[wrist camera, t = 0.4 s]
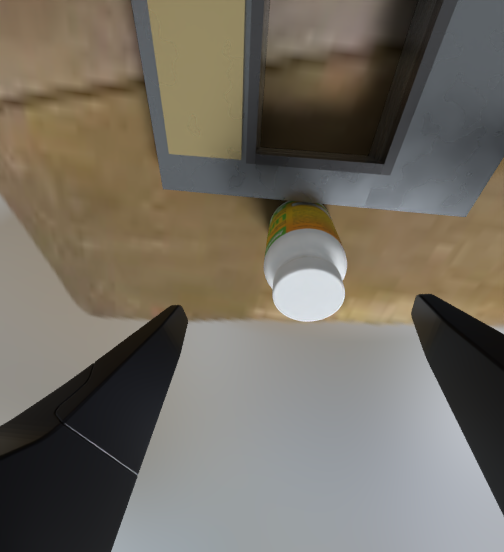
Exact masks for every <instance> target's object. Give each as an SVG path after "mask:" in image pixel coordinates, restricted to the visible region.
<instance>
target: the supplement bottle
mask: <svg viewBox="0 0 504 552" xmlns="http://www.w3.org/2000/svg"><path fill="white" fill-rule="evenodd" d="M346 270H347V259H346V255H345V251H344V248H343V246H342V244H341V241H340V239H339V237H338V234H337V232H336V229H335V227H334V225H333V222H332V220H331V217H330V215H329V213H328V211H327V210H326V208H325V207H324V206H323V205H322V204H320V203H309V202H298V201H287V202H285V203H283V204H282V205H281V206H279V207H278V208H277V209H276V211H275V212H274V214H273V215H272V218H271V220H270V224H269V231H268V237H267V244H266V252H265V259H264V273H265V277H266V280H267V282H268V284H269V285H270V286H271V288H272V289H273V301H274V304H275V306H276V307H277V309H278V310H279V311H280V312H281V313H282V314H284V315H285V316H287V317H289V318H291V319H294V320H298V321H317V320H321V319H324V318H327V317H329V316H331V315H332V314H333V313H335V312H336V311H337V310H338V309H339V308H340V307H341V305H342V303H343V301H344V297H345V289H344V285H343V282H342V281H343V279H344V277H345V274H346Z"/></svg>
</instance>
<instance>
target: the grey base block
mask: <svg viewBox="0 0 504 552" xmlns="http://www.w3.org/2000/svg"><path fill="white" fill-rule="evenodd" d="M131 3H132V9H133V15H134V21H135V27H136V33H137V38H138V44H139V50H140V56H141V62H142V68H143V74H144V80H145V86H146V91H147V97H148V103H149V109H150V115H151V121H152V127H153V133H154V139H155V144H156V150H157V156H158V162H159V168H160V174H161V180H162V186H163V189H169V190H179V191H190V192H201V193H212V194H223V195H233V196H244V197H255V198H266V199H277V200H287V201H298V202H309V203H320V204H330V205H341V206H352V207H363V208H374V209H384V210H395V211H406V212H417V213H428V214H438V215H449V216H460V217H466V216H467V214H468V212H469V211H470V209H471V208H472V206H473V205H474V203H475V201H476V200H477V198H478V197H479V195H480V194H481V192H482V190H483V189H484V187H485V186H486V184H487V182H488V181H489V179H490V178H491V176H492V175H493V173H494V171H495V170H496V168H497V167H498V165H499V164H500V162H501V160H502V159H503V157H504V0H418V2H417V6H416V9H415V12H414V15H413V18H412V21H411V24H410V28H409V31H408V34H407V37H406V40H405V43H404V46H403V49H402V53H401V56H400V59H399V62H398V65H397V68H396V71H395V75H394V78H393V81H392V84H391V87H390V90H389V93H388V96H387V100H386V103H385V106H384V109H383V112H382V115H381V118H380V122H379V125H378V128H377V131H376V134H375V137H374V140H373V143H372V147H371V150H370V153H369V156H366V155H353V154H340V153H328V152H315V151H302V150H290V149H277V148H264V147H260V141H261V126H262V111H263V96H264V81H265V66H266V51H267V36H268V21H269V6H270V0H131Z"/></svg>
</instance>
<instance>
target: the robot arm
mask: <svg viewBox="0 0 504 552" xmlns="http://www.w3.org/2000/svg"><path fill="white" fill-rule="evenodd" d="M411 315H412V319H413V322H414V325H415V328H416V330H417V333H418V336H419V339H420V342H421V345H422V348H423V351H424V353H425V356H426V358H427V361H428V363H429V365H430V367H431V369H432V371H433V373H434V375H435V377H436V379H437V381H438V383H439V385H440V387H441V389H442V391H443V393H444V395H445V397H446V399H447V402H448V403H449V405H450V408H451V410H452V412H453V413H454V416H455V418H456V420H457V421H458V424H459V426H460V427H461V430H462V432H463V434H464V436H465V438H466V440H467V442H468V444H469V446H470V448H471V450H472V452H473V454H474V456H475V458H476V460H477V463H478V465H479V467H480V469H481V471H482V473H483V475H484V477H485V479H486V481H487V483H488V485H489V487H490V489H491V491H492V493H493V495H494V497H495V499H496V501H497V503H498V505H499V507H500V509H501V511H502V513H503V515H504V334H502V333H501V332H499V331H497V330H495V329H494V328H492V327H490V326H488V325H486V324H485V323H483V322H481V321H479V320H477V319H476V318H474V317H472V316H470V315H468V314H467V313H465V312H463V311H461V310H460V309H458V308H456V307H454V306H452V305H451V304H449V303H447V302H445V301H443V300H442V299H440V298H438V297H436V296H434V295H432V294H419V295H417V296H416V298H415V301H414V305H413V308H412V312H411ZM187 324H188V319H187V316H186V314H185V312H184V310H183V308H182V306H181V305H171V306H170V307H168V308H167V309H165V310H164V311H163V312H161V313H160V314H159V315H157V316H156V317H155V318H153V319H152V320H151V321H149V322H148V323H147V324H145V325H144V326H143V327H141V328H140V329H139V330H137V331H136V332H135V333H133V334H132V335H131V336H129V337H128V338H127V339H125V340H124V341H122V342H121V343H120V344H118V345H117V346H116V347H114V348H113V349H112V350H110V351H109V352H108V353H106V354H105V355H104V356H102V357H101V358H100V359H98V360H97V361H96V362H95V363H93V364H91V365H90V366H89V367H87V368H86V369H85V370H83V371H82V372H81V373H79V374H78V375H77V376H75V377H74V378H72V379H71V380H70V381H68V382H67V383H65V384H64V385H62V386H61V387H59V388H58V389H56V390H55V391H54V392H52V393H51V394H49V395H48V396H46V397H45V398H43V399H42V400H40V401H39V402H37V403H36V404H34V405H33V406H31V407H30V408H28V409H27V410H25V411H24V412H22V413H21V414H19V415H18V416H16V417H15V418H13V419H12V420H10V421H8V422H7V423H5V424H4V425H1V426H0V552H111V550H112V547H113V544H114V541H115V539H116V536H117V533H118V530H119V527H120V525H121V522H122V519H123V516H124V513H125V510H126V508H127V505H128V502H129V499H130V496H131V493H132V491H133V488H134V485H135V482H136V479H137V475H138V473H139V470H140V468H141V465H142V462H143V459H144V456H145V453H146V450H147V447H148V445H149V442H150V439H151V436H152V434H153V431H154V428H155V425H156V422H157V419H158V417H159V414H160V411H161V408H162V405H163V402H164V400H165V397H166V394H167V391H168V388H169V385H170V383H171V380H172V376H173V374H174V371H175V368H176V366H177V362H178V360H179V357H180V353H181V350H182V345H183V341H184V337H185V333H186V328H187Z"/></svg>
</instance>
